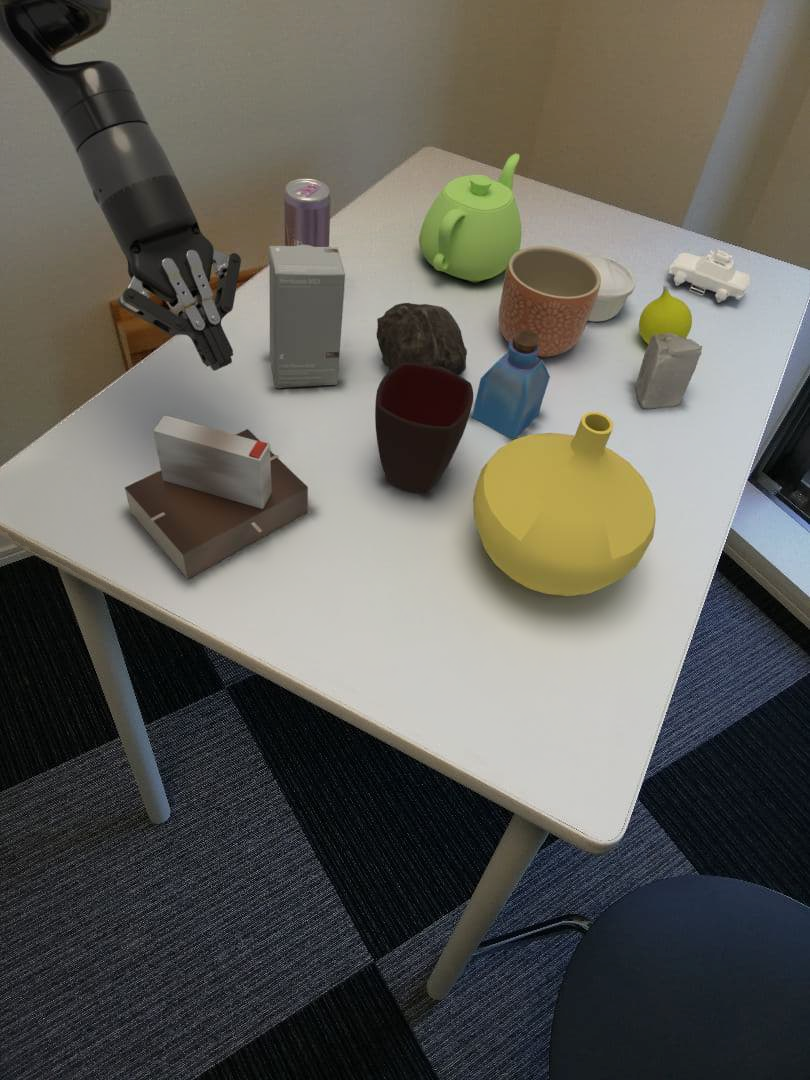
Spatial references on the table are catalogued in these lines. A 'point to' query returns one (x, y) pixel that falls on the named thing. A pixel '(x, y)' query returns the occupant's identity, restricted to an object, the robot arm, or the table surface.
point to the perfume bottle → (513, 387)
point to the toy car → (711, 274)
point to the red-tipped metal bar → (214, 461)
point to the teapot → (473, 226)
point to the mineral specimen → (666, 370)
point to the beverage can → (307, 213)
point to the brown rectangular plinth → (212, 516)
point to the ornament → (665, 317)
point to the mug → (420, 423)
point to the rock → (421, 337)
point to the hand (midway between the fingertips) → (223, 366)
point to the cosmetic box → (305, 314)
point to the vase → (564, 510)
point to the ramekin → (610, 286)
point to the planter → (548, 296)
